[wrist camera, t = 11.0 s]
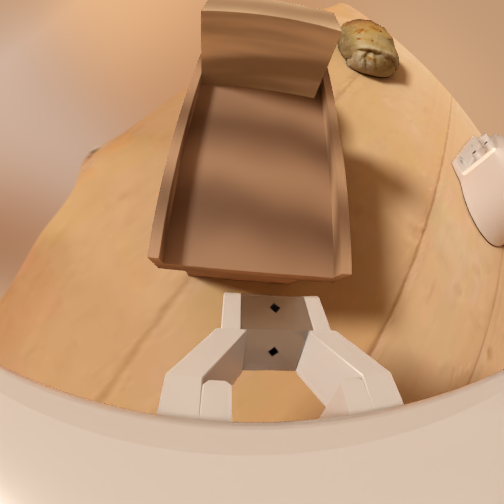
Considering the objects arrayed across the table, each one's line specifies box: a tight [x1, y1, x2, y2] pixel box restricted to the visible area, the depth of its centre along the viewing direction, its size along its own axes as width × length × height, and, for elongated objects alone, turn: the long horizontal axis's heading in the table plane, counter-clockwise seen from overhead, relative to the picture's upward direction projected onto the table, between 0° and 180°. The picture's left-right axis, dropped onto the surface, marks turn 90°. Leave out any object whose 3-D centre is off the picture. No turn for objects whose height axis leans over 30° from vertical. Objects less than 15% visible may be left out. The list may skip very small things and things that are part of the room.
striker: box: [201, 0, 342, 98], centre depth 16 cm, size 4×9×7 cm, turn 87°
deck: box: [148, 55, 352, 284], centre depth 21 cm, size 18×11×10 cm, turn 177°
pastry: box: [337, 19, 399, 78], centre depth 33 cm, size 14×12×8 cm
